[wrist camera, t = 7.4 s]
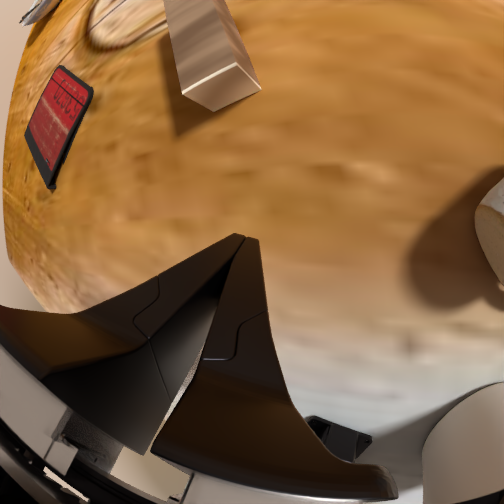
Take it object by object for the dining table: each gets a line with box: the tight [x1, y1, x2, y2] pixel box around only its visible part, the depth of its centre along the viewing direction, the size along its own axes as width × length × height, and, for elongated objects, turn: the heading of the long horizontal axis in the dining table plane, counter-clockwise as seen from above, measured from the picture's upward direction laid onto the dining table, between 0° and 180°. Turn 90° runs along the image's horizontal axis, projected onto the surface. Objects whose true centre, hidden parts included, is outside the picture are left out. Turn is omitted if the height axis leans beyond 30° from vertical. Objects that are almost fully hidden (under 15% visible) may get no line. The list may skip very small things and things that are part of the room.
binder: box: [24, 65, 94, 189], centre depth 31 cm, size 16×2×21 cm
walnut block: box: [163, 0, 262, 112], centre depth 18 cm, size 4×4×14 cm
